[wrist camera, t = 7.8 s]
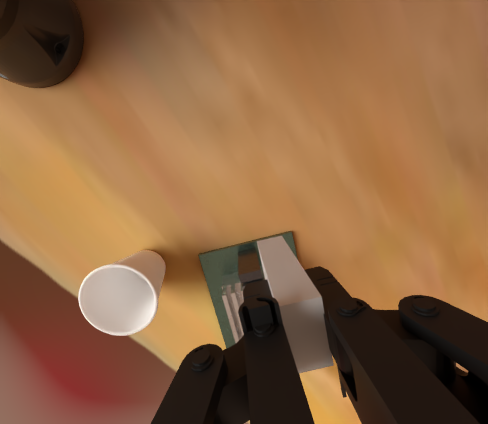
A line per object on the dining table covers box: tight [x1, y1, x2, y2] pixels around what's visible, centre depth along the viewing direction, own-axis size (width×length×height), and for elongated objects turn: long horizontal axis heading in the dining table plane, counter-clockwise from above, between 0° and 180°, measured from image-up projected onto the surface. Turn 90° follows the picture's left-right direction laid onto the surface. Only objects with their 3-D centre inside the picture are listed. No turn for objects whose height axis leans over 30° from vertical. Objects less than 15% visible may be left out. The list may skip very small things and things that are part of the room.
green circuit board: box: [199, 231, 300, 376], centre depth 39 cm, size 20×16×10 cm
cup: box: [78, 250, 166, 336], centre depth 37 cm, size 10×10×11 cm
